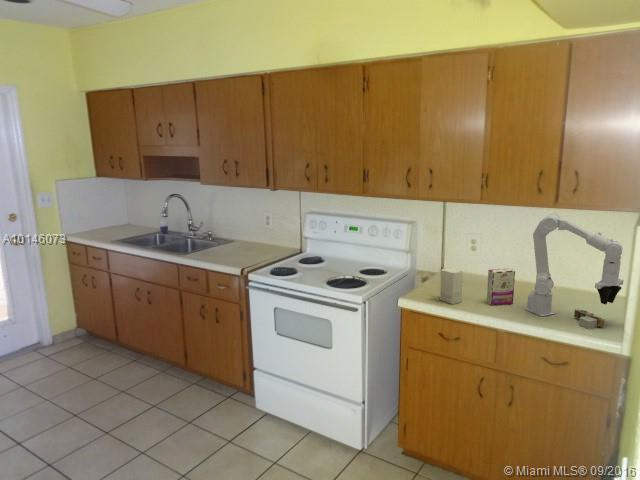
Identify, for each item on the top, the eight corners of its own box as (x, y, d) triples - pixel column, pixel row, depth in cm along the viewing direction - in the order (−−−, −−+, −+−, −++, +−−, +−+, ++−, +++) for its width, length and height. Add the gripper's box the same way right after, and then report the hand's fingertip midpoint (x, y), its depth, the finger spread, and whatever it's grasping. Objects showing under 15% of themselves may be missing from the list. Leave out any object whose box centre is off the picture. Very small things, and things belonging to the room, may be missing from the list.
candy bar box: (507, 300, 222) (510, 267, 218) (513, 304, 217) (516, 270, 214) (485, 302, 220) (488, 269, 217) (491, 305, 215) (493, 272, 212)
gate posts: (575, 319, 198) (576, 312, 197) (585, 317, 200) (585, 310, 199) (585, 323, 194) (585, 316, 193) (594, 321, 196) (595, 314, 196)
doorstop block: (578, 325, 192) (579, 317, 192) (586, 323, 194) (587, 316, 193) (588, 329, 188) (589, 321, 188) (596, 327, 190) (597, 319, 189)
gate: (572, 317, 199) (573, 309, 199) (577, 316, 201) (578, 308, 200) (600, 327, 188) (601, 319, 187) (605, 326, 189) (606, 318, 189)
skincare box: (461, 302, 220) (463, 271, 217) (451, 305, 217) (453, 273, 214) (448, 297, 227) (450, 266, 224) (439, 299, 224) (440, 268, 221)
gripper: (608, 276, 182) (604, 308, 184) (632, 271, 187) (628, 303, 190) (591, 271, 188) (587, 303, 191) (615, 267, 193) (611, 298, 196)
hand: (606, 303), depth 191 cm, fingers open, 3 cm apart
